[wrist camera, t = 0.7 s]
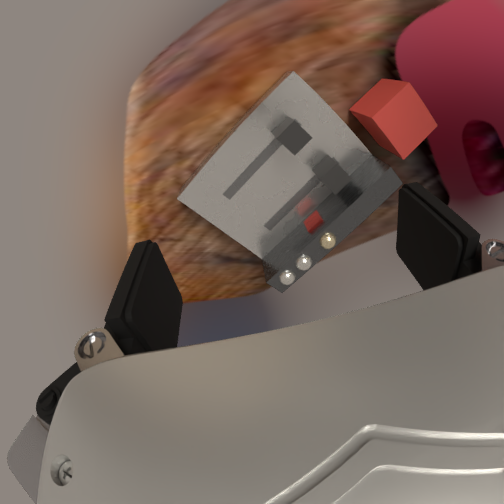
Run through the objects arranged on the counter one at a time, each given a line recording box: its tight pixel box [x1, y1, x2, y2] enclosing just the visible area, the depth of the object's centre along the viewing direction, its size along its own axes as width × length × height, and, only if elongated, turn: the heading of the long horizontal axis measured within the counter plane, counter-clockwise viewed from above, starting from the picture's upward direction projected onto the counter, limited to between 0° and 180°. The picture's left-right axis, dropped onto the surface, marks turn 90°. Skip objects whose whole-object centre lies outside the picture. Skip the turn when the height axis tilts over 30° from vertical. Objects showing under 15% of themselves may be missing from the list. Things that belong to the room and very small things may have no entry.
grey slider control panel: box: [177, 71, 403, 293], centre depth 30 cm, size 18×15×8 cm
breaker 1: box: [272, 116, 312, 155], centre depth 27 cm, size 2×2×3 cm
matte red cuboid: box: [349, 79, 437, 160], centre depth 27 cm, size 6×6×6 cm
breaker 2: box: [312, 155, 352, 195], centre depth 29 cm, size 2×2×3 cm
